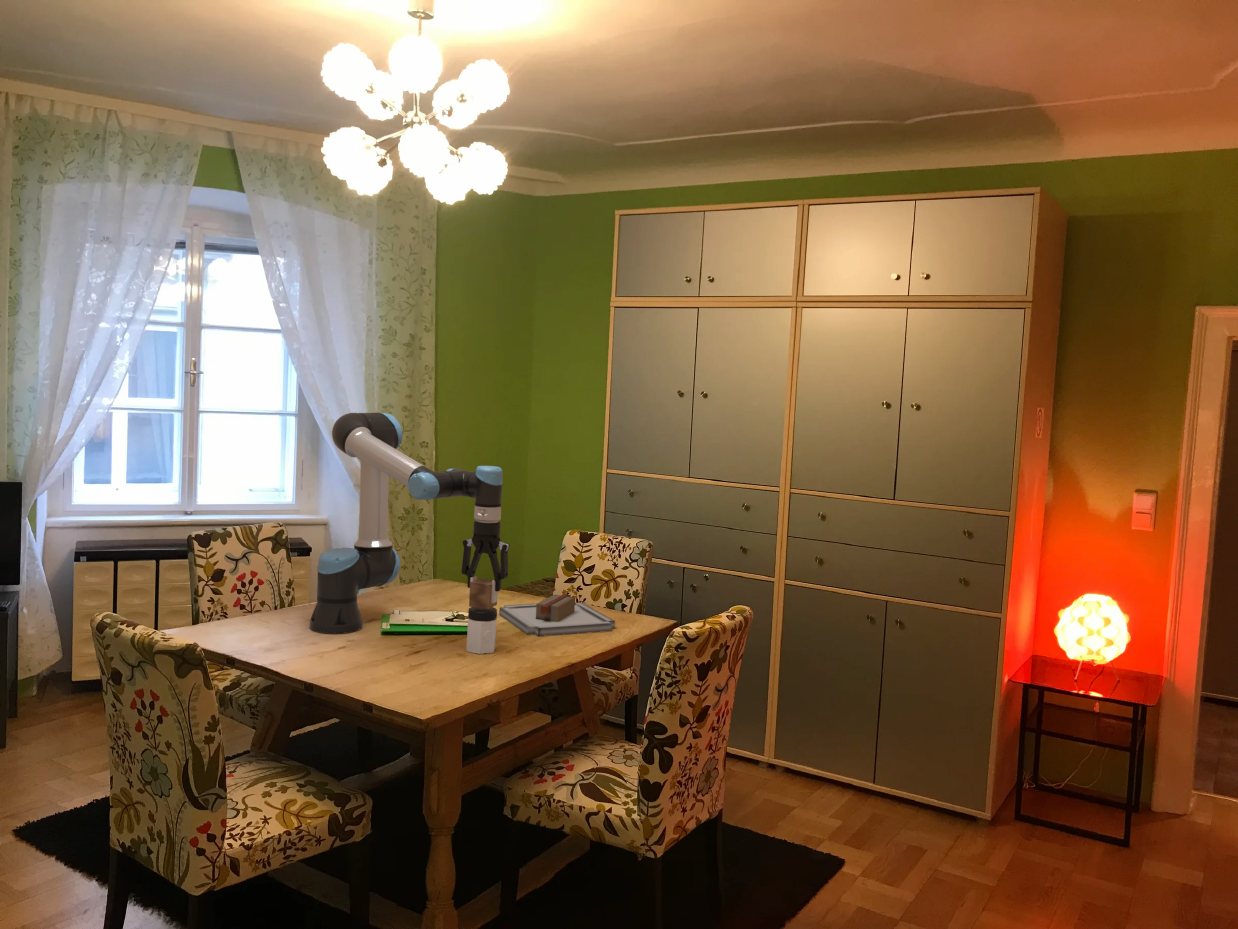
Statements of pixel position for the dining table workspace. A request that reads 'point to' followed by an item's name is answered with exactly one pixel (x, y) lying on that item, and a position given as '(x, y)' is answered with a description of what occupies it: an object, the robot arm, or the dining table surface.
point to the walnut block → (481, 594)
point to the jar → (481, 630)
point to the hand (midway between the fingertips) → (483, 600)
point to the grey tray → (556, 617)
